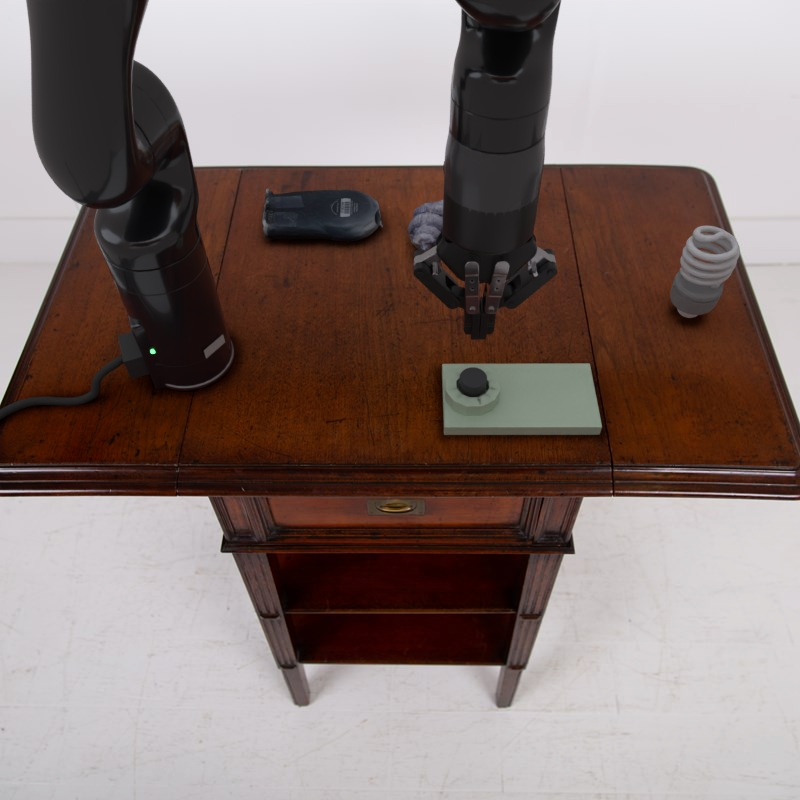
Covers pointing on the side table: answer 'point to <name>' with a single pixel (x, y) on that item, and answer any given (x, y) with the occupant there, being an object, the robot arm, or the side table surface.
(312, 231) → the electronic device
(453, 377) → the pale green flat block
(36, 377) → the side table surface
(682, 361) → the side table surface
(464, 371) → the button
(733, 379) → the side table surface
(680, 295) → the light bulb
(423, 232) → the seashell
